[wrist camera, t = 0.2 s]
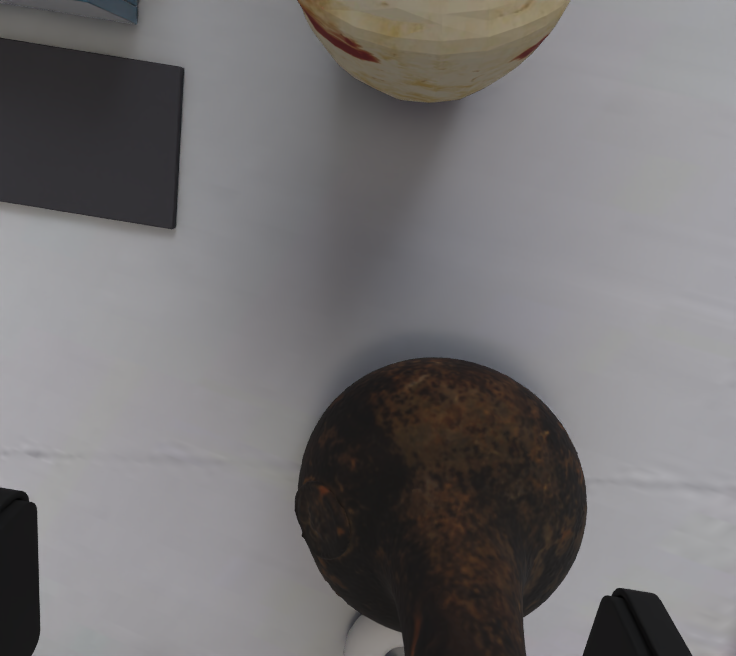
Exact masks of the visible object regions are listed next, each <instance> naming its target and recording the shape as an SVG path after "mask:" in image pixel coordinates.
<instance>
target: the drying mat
mask: <svg viewBox="0 0 736 656" xmlns="http://www.w3.org/2000/svg"><path fill="white" fill-rule="evenodd" d="M183 76H184V68H182V67H178V66H171V65H165V64H159V63H153V62H147V61H140V60H134V59H128V58H122V57H116V56H109V55H103V54H97V53H91V52H85V51H78V50H72V49H66V48H60V47H54V46H47V45H41V44H35V43H29V42H23V41H16V40H10V39H4V38H0V201H2V202H8V203H14V204H20V205H26V206H33V207H39V208H45V209H51V210H57V211H63V212H70V213H76V214H82V215H88V216H94V217H100V218H106V219H113V220H119V221H125V222H131V223H137V224H143V225H150V226H156V227H162V228H168V229H174V228H175V227H176V209H177V190H178V171H179V152H180V133H181V114H182V95H183Z"/></svg>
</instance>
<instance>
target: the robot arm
mask: <svg viewBox="0 0 736 656" xmlns="http://www.w3.org/2000/svg"><path fill="white" fill-rule="evenodd" d="M39 635H40V602H39V564H38V527H37V507H36V505H35V503H33V502H29V498H28V495H27V494H26V493H25V492H23V491H18V490H12V489H6V488H0V656H31V655H32V654H33V652H34V650H35V648H36V645H37V643H38V640H39ZM583 656H692V654H691V653H690V651H689V649H688V647H687V646H686V644H685V642H684V640H683V639H682V637H681V635H680V633H679V632H678V630H677V628H676V626H675V625H674V623H673V621H672V619H671V618H670V616H669V614H668V612H667V611H666V609H665V607H664V605H663V603H662V602H661V600H660V599H659V598H658V596H657V595H655V594H653V593H648V592H642V591H636V590H630V589H624V588H617V589H616V590H615V591H614V592H613V594H612V596H608V595H607V596H604V597H603V598H602V600H601V602H600V605H599V608H598V611H597V614H596V617H595V620H594V623H593V626H592V629H591V632H590V635H589V638H588V641H587V644H586V647H585V650H584V653H583Z"/></svg>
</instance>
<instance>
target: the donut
mask: <svg viewBox="0 0 736 656" xmlns="http://www.w3.org/2000/svg"><path fill="white" fill-rule="evenodd" d="M397 647H404V645H403V639H402V633H401V632H397V631H395V630H392V629H389V628H387V627H385V626H382V625H380V624H378V623H376V622H374V621H373V620H371V619H369V618H367V617H365V616H364V615H361V616H360V617H359V618H358V619H357V620H356V622H355V623H354V625H353V626H352V628H351V629H350V631H349V632H348V635H347V638H346V643H345V648H344V656H385V654H386V653H387V652H388V651H390V650H391V649H394V648H397Z"/></svg>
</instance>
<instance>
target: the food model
mask: <svg viewBox="0 0 736 656" xmlns="http://www.w3.org/2000/svg"><path fill="white" fill-rule="evenodd" d="M297 1H298V2H299V4H300V6H301V7H302V9H303V12H304V15H305V18H306V20H307V22H308V24H309V26H310V27H311V29H312V31H313V32H314V34H315V35H316V36H317V38H318V39H319V40H320V41H321V43H322V44H323V45H324V47H325V48H326V49H327V51H328V52H329V53H330V54H331V56H332V57H333V58H334V60H335V61H336V62H337V63H338V65H339V66H341V67H342V68H343V69H344V70H345V71H347V72H348V73H349V74H350V75H352V76H353V77H354V78H356V79H358V80H359V81H361V82H363V83H365V84H367V85H369V86H371V87H372V88H374V89H376V90H379V91H381V92H383V93H385V94H388V95H390V96H392V97H394V98H397V99H399V100H407V101H417V102H427V103H432V102H441V101H451V100H459V99H462V98H464V97H466V96H468V95H470V94H473V93H475V92H477V91H479V90H481V89H484V88H485V87H487V86H489V85H490V84H492V83H493V82H495V81H497V80H498V79H500V78H502V77H503V76H505V75H506V74H508V73H509V72H510V71H512V70H513V69H514V68H516V67H517V66H519V65H520V64H521V63H522V62H523V61H524V60H525V59H526V58H527V57H529V56H530V55H531V54H532V53H533V52H534V51H535V49H536V48H537V47H538V46H539V45H540V44H541V43H542V41H543V40H544V39H545V38H546V37H547V36H548V35H549V34H550V32H551V31H552V30H553V28H554V27H555V25H556V24H557V22H558V21H559V19H560V17H561V16H562V14H563V12H564V11H565V9H566V7H567V6H568V4H569V2H570V0H297Z"/></svg>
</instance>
